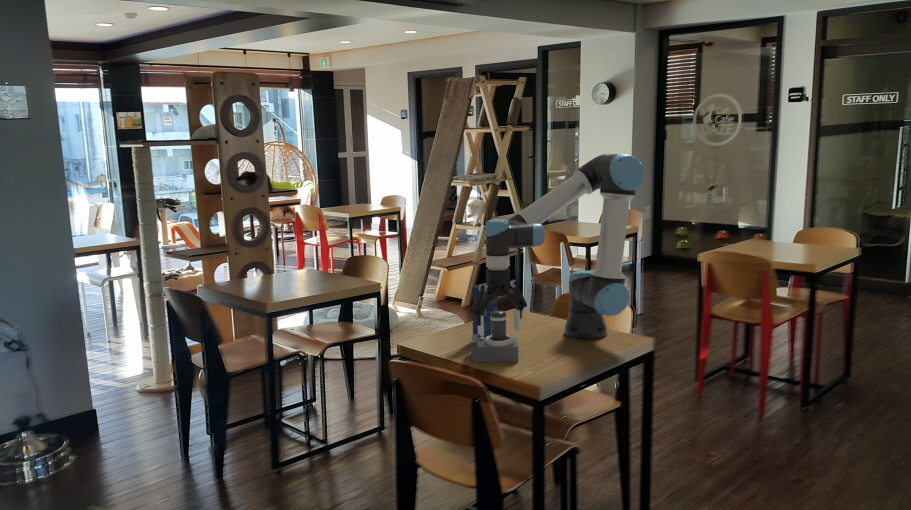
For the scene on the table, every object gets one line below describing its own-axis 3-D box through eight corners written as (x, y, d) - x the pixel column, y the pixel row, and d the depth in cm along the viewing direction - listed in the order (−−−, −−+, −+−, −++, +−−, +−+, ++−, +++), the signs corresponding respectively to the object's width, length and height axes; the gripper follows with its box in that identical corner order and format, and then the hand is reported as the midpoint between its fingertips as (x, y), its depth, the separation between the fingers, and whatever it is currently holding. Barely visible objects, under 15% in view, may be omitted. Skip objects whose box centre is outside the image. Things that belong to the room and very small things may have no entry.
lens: (509, 343, 230) (508, 313, 228) (495, 345, 227) (494, 315, 226) (501, 339, 234) (501, 309, 233) (487, 341, 232) (486, 312, 230)
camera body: (517, 352, 236) (517, 333, 235) (518, 361, 226) (518, 342, 225) (472, 352, 237) (472, 334, 236) (471, 362, 227) (471, 342, 226)
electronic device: (483, 343, 247) (482, 287, 244) (472, 341, 251) (470, 286, 247) (499, 337, 255) (498, 283, 251) (488, 335, 258) (486, 281, 255)
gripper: (524, 262, 236) (525, 323, 239) (458, 270, 225) (459, 334, 228) (537, 265, 229) (537, 328, 232) (469, 273, 218) (470, 340, 221)
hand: (499, 332), depth 230 cm, fingers open, 13 cm apart
